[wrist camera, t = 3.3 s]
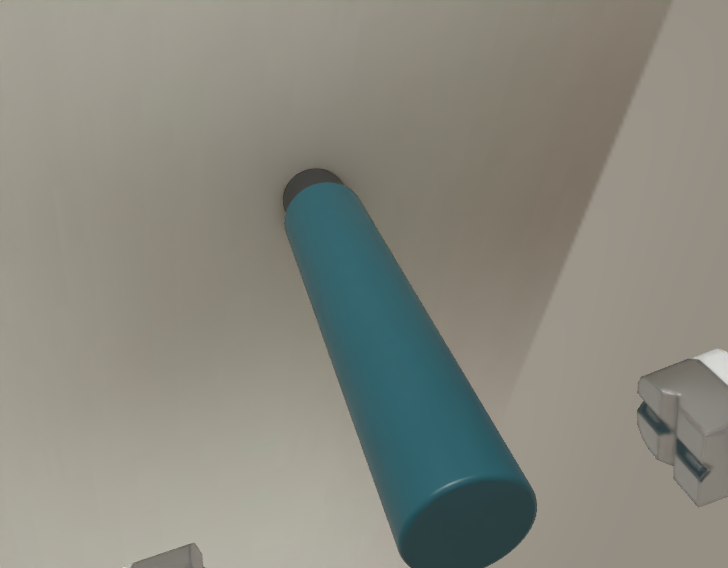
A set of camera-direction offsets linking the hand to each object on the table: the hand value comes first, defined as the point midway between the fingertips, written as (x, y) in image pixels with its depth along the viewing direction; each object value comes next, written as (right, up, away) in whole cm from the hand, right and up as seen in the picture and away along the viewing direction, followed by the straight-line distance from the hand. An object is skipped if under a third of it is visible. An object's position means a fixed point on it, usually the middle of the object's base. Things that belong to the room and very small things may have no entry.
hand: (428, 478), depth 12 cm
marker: (-3, +6, +10) cm, 12 cm away
